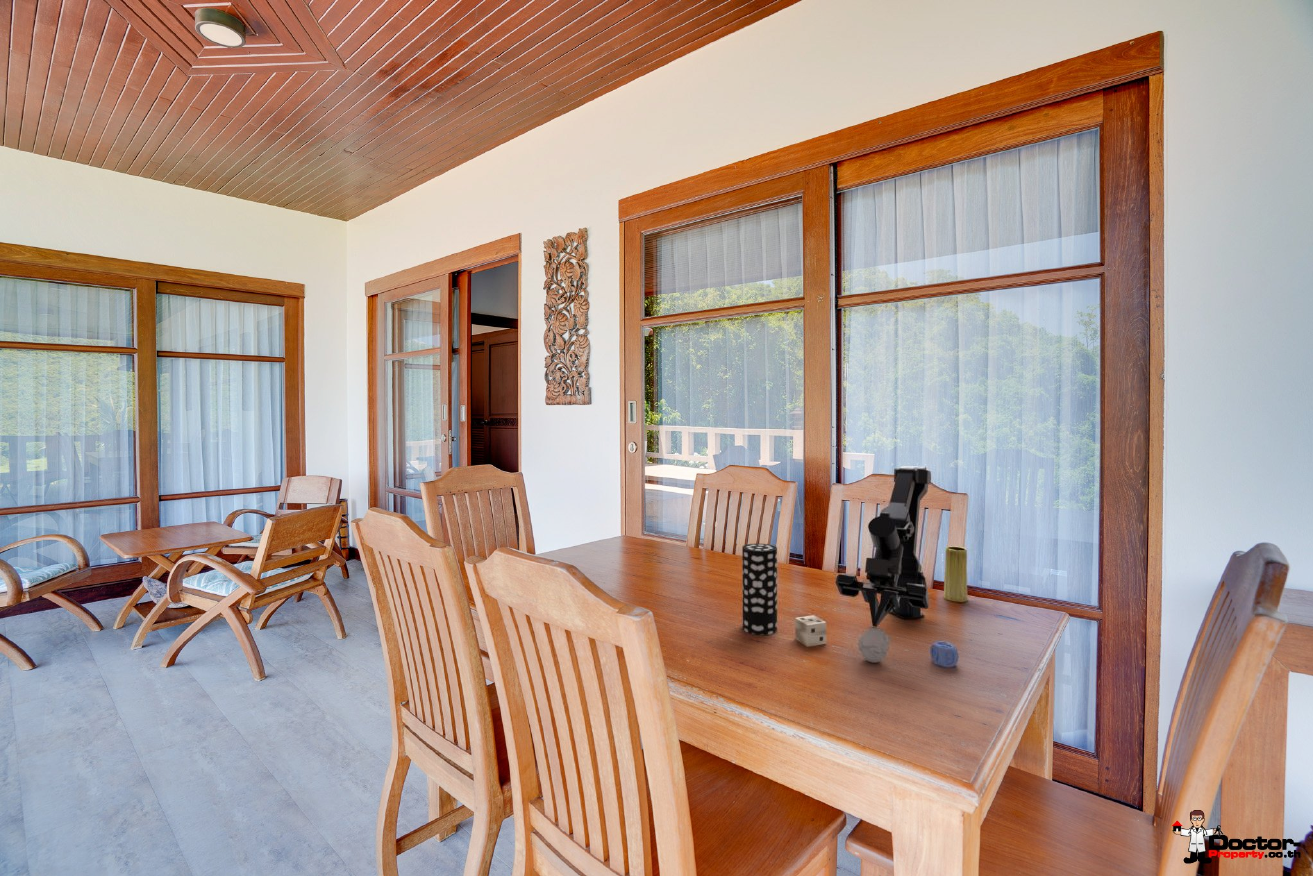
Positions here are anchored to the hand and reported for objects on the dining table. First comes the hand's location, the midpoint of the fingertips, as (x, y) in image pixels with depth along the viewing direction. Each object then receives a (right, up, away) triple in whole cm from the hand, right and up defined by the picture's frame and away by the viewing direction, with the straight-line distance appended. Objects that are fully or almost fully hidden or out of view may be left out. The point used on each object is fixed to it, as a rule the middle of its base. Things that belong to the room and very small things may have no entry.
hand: (874, 625), depth 124 cm
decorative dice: (+14, -8, -1) cm, 16 cm away
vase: (+37, -5, +40) cm, 55 cm away
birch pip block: (-11, -7, +11) cm, 17 cm away
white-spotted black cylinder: (-21, -7, +19) cm, 29 cm away
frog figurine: (0, -8, 0) cm, 8 cm away
